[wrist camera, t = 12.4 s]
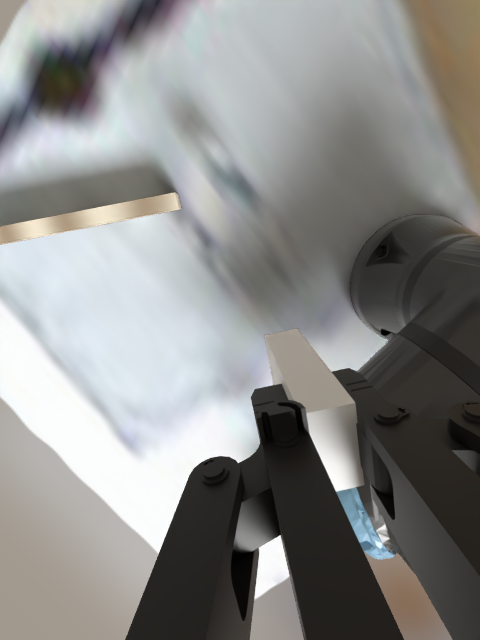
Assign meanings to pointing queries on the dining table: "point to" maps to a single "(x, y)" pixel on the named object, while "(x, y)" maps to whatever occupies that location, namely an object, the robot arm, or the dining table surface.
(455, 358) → the robot arm
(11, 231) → the wooden bars
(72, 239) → the dining table surface
